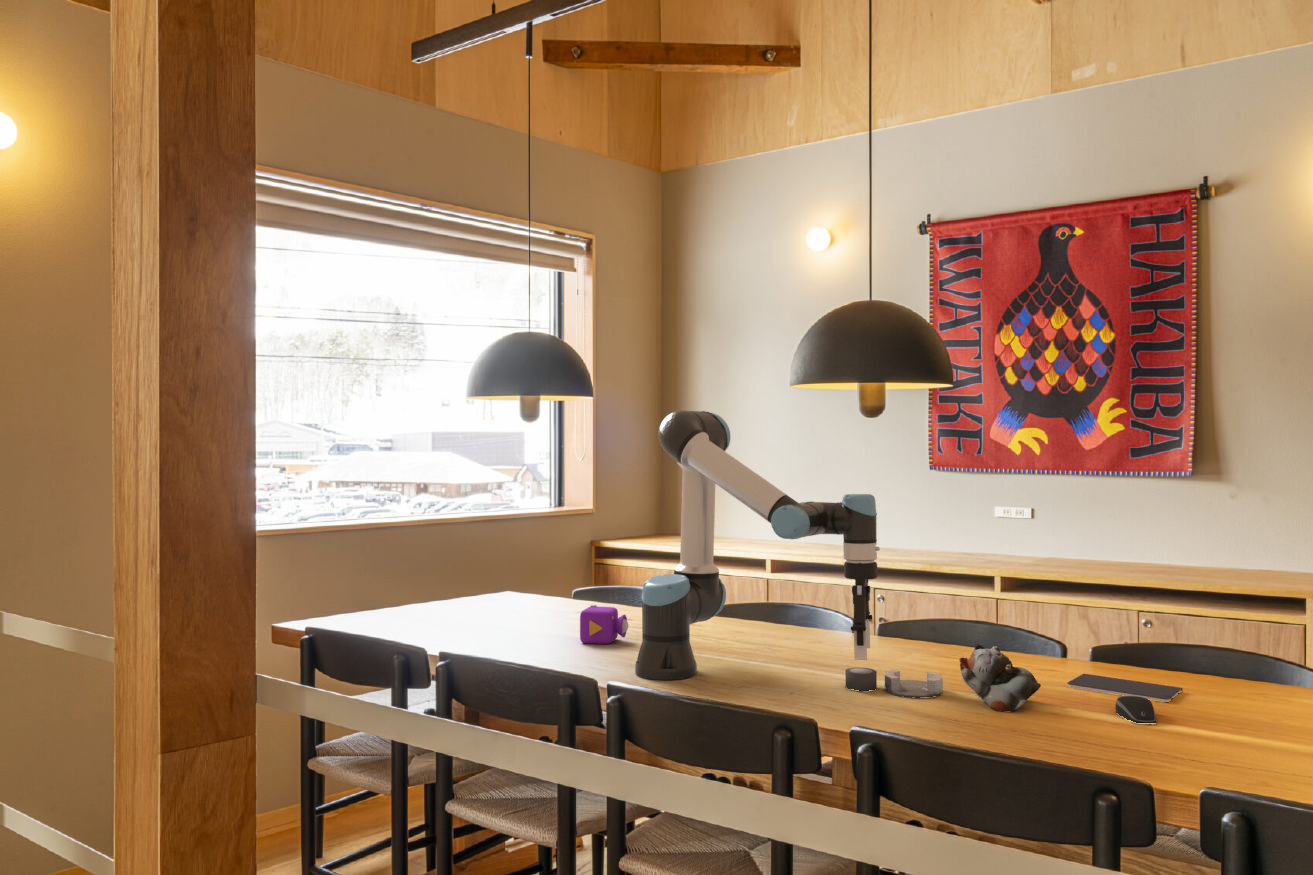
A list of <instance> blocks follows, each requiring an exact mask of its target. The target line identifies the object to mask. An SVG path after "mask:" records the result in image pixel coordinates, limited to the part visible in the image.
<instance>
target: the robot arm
mask: <svg viewBox="0 0 1313 875" xmlns="http://www.w3.org/2000/svg"><path fill="white" fill-rule="evenodd" d="M657 433H658V441H659V444H660V447H661V448H662V450H664V452H665V453H666V454H667V455H669V456H670V457H671V458H672V459H674V460H675V461H676V464H677V465H678V466H679V467H680V468H681V470H682V479H681V480H682V483H681V485H682V486H681V515H680V516H681V517H680V518H681V519H680V520H681V521H680V557H679V563H678V564H677V565H676V566H675V567H674V568H673V574H671V573H670V574H669V573H668V574H663V575H655V576H652V577H650V578H648V579H646V580H645V581H644V583H643V585H642V594H641V602H642V603H641V606H642V607H641V608H642V609H641V610H642V611H641V612H642V613H641V614H642V618H641V619H642V621H641V622H642V624H641V625H642V627H641V628H642V630H641V632H642V636H641V637H642V641H641V645H640V648H639V651H638V655H637V658H636V661H635V665H634V667H635V670H634V671H635V672H634V674H636V676H639V677H641V678H645V679H650V680H659V681H660V680H661V681H662V680H664V681H665V680H666V681H669V680H670V681H672V680H681V679H689V678H692V677H694V676H696V675H697V673H698V669H697V666H698V664H697V662H696V659H695V656H694V652H693V648H692V644H691V642H690V640H691V638H690V630H691V629H690V625H693V624H696V623H700V622H701V623H702V622H706V621H708V620H710V619H712V618H713V617H716V616H718V615H719V613H720V612H722V610H723V608H724V606H725V605H726V600H727V590H726V586H725V584H724V583H723V582H722V579H721V578H720V570H719V568H718V567H717V566H716V565H715V563H714V553H715V552H714V550H715V549H714V548H715V517H716V516H715V512H716V511H715V510H716V485H717V486H718V487H719V488H721V489H722V490H724V491H725V492H727V493H728V494H729V495H730V496H732V497H733V498H735V499H736V500H738V501H739V502H740V503H742V504H743V505H745V506H746V507H747V508H749V509H750V510H751V511H753V512H754V513H756V514H757V515H759V516H760V517H761V518H762V519H764V520H765V521H767V522H768V523H769V524H771V528H772V530H773V532H774V534H775V535H777V537H779V538H781V539H784V540H798V539H801V538H805V537H812V536H817V535H839V536H840V535H843V542H842V543H843V545H842V546H843V547H842V548H843V560H845V561H844V563H843V567H844V569H843V570H844V571H843V575H844V578H845V579H847V580H854V581H855V583H854V585H852V587H851V594H852V605H853V625H851V626H850V631H851V632H852V631H853V644H854V645H853V646H854V647H853V650H854V658H853V660H855V661H868V649H870V648H871V633H870V632H871V630H870V629H871V627H870V625H871V624H870V621H871V620H873V615H872V614H870V613H871V612H870V599H871V597H870V596H871V594H870V593H871V585H869V580H874V579H875V580H876V579H877V578H878V576H879V575H878V572H879V571H878V562H877V561H876V560H877V559H878V553H877V552H879V551H880V549H881V548H880V546H877V544H878V543H877V542H878V541H877V540H878V539H877V516H878V512H877V504H876V498H875V496H874V495H873V494H872V493H871V494H870V493H848V494H847V493H846V494H844V495H843V496H842V500H841V501H840V502H828V501H827V502H823V501H819V502H818V501H803V502H802V501H801V502H798V501H797V500H795V499H793V497H790V496H789V495H788V494H787V493H785V492H783V490H781V489H779V488H778V487H776V486H775V485H774V484H772V483H771V482H769V481H768V480H767V479H765V478H764V477H762V476H761V475H759V474H758V473H756V472H755V471H754V470H752V469H751V468H749V467H748V466H746V465H745V464H743V463H742V462H740V460H738V459H737V458H735V457H734V456H732V454H729V453H728V452H726V450H727V449H729V447H730V443H731V431H730V427H729V425H728V423H727V422H726V420H724V418H723V417H722V416H720V415H719V414H716V413H714V412H710V411H704V410H701V411H700V410H699V411H697V410H696V411H695V410H683V409H682V410H681V409H680V410H679V409H678V410H676V411H673V412H671V413H668V414H667V415H665V417H664V418H663V420H662V421H661V423H660V424H659V427H658V432H657Z"/></svg>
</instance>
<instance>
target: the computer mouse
mask: <svg viewBox="0 0 1313 875" xmlns="http://www.w3.org/2000/svg"><path fill="white" fill-rule="evenodd" d="M1115 710H1116V711H1115V714H1116V713H1118V714H1119V715H1120V716H1123V717H1124V718H1126V719H1127V720H1131V721H1133V722H1136V723H1156V720H1157V716H1156V711H1155V707H1154V705H1153V703H1152V701H1150V700H1148V699H1146V698H1143V697H1138V696H1118V698H1117V699H1116V701H1115ZM1120 716H1119V717H1120Z"/></svg>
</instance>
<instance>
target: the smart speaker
mask: <svg viewBox="0 0 1313 875" xmlns="http://www.w3.org/2000/svg"><path fill="white" fill-rule="evenodd" d="M844 671H845V688H846V687H847V688H848V689H854V690H859V691H869V690H875V689H876V690H877V688H878V686H877V682H878V681H877V670H875V669H872V668H868V667H848V668H846V669H845V670H844ZM848 689H847V690H848ZM876 690H875V691H876Z"/></svg>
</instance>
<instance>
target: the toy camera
mask: <svg viewBox="0 0 1313 875" xmlns="http://www.w3.org/2000/svg"><path fill="white" fill-rule="evenodd" d="M628 629H629V622H628V618H627V615H626V614H622V615H621V616H619V611H618V608H616V607H614V606H613V607H612V606H597V604H590V606H589V607H587V608H585V609H584V610H581V612H580V616H579V639H580V642H581V643H583V644H595V645H597V644H598V645H609V644H611V643H613V642H614V641H615V640H616V639H617V638H618V635H619V636H621V637H622V638H625V637H626V635H627V632H628Z"/></svg>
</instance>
